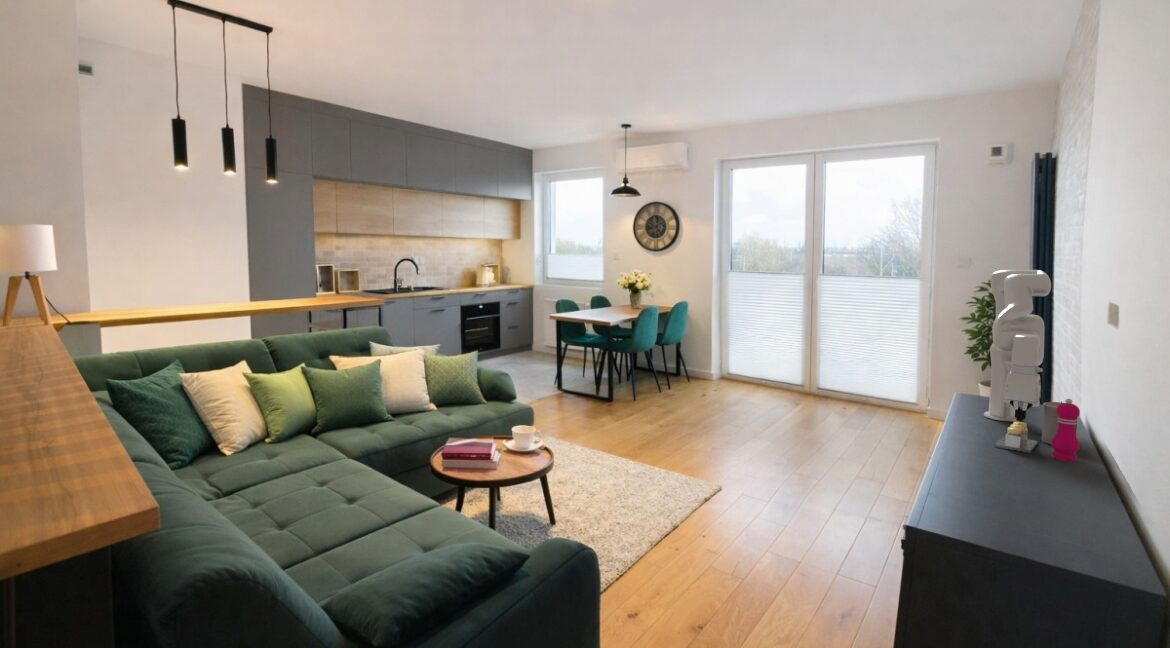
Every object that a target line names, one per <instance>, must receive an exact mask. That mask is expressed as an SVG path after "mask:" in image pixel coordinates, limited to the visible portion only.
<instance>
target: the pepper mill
mask: <svg viewBox="0 0 1170 648" xmlns="http://www.w3.org/2000/svg"><path fill="white" fill-rule="evenodd" d="M1080 411H1081V410H1080V408H1079V406H1078V405H1076V404H1073V400H1072V398H1066V399H1065V401H1064V402H1062V404H1060V405H1059V406H1058V407H1057V409H1056V412H1057V414H1058V415H1059V417H1058V420H1057V421H1058V422H1059V428H1058V431H1057V433H1056V434H1055V436H1054V437H1053V439H1052V443H1051V444H1050V445H1051V448H1052V449H1053V450H1052V453H1051V455H1052V458H1054V459H1056V460H1058V461H1064V462H1077V459H1078V458H1077V454H1076V453H1077V452H1079V450H1080V441H1079V440H1078V438H1077V434H1076V435H1075V424H1077V425H1078V417H1080V415H1081V412H1080ZM1076 418H1077V419H1076Z"/></svg>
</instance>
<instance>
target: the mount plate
mask: <svg viewBox="0 0 1170 648" xmlns="http://www.w3.org/2000/svg"><path fill="white" fill-rule="evenodd" d="M1028 430H1029V428H1028V427H1027V428H1026V429H1024V431H1022V434H1018V436H1014V435H1010V433H1008V432H1007V433H1005V435H1002V436H1001V437H1000V438H999V439H998V440H997V442H995V443H994V447H995V448H996V449H997V448H999V449H1004V450H1008V449H1009V450H1010V451H1014V450H1017V451H1016V452H1019V451H1023V452H1022V453H1025V452H1028V453H1027V454H1031V452H1032V451H1033V450H1034V449H1035V448H1036V445H1037V444H1038V441H1037V440H1034V439H1033V440H1032V439H1028V434H1029V433H1028ZM1009 450H1008V451H1009Z"/></svg>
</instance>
